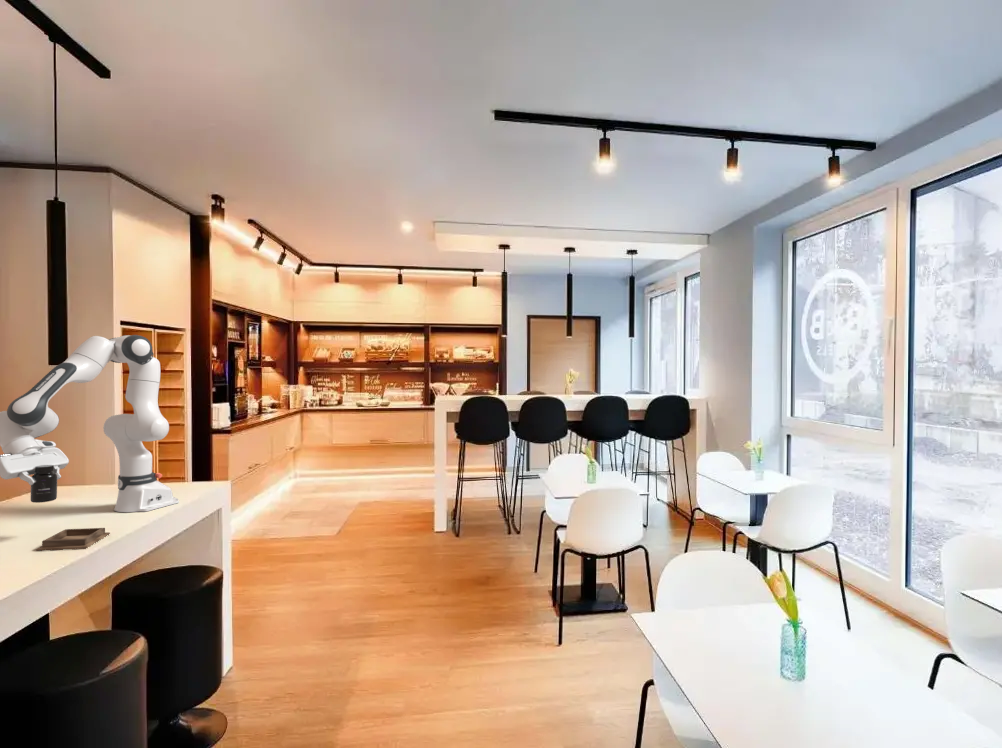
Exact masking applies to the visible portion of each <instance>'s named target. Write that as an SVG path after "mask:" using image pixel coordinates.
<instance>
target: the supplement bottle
mask: <svg viewBox="0 0 1002 748" xmlns="http://www.w3.org/2000/svg"><path fill="white" fill-rule="evenodd" d="M53 471H54V465H41V466H36V467H35V472H36V474H33V475H31V477H32V478H34V479H35V480H36V481H37V482H36V483H35V484H34V485H30V503H35V504H36V503H38V504H39V503H49V502H52V501H55V500H56V499H57V498H58V480H57V474H56V473H54V472H53Z"/></svg>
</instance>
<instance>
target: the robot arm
mask: <svg viewBox="0 0 1002 748" xmlns="http://www.w3.org/2000/svg"><path fill="white" fill-rule="evenodd" d="M154 355H155V354H154V351H153V346H152V343H151V341H150V340H149V339H148V338H147V337H145V336H142V335H138V334H132V335H129V334H128V335H126V334H125V335H122V336H117V337H113V338H109V339H108V338H106V337H103V336H101V335H93V336H91V337H88V338H87V339H86V340H85V341H83V342H82V343H81V344H80V345H79V346H77V348H76V349H75V350H74V351H73V352H72V353H71V354H70V355H69V356H68V357H67V358H66V359H65V361H63V362H62V363H59V364H57V365H56V366H54V367H53V368H52V369H50V371H48V372H47V373H46V374H45V376H43V377H42V378H41V379H39V381H38V382H37V383H36V384H34V386H33V387H32V388H31V389H29V390H28V391H26V392H25V393H23V394H22V395H20V396H18V397H17V398H15V399H14V400H13V401H11V403H9V405H8V406H7V410H3V411H0V448H1V451H2V452H3V453H2V454H0V478H1V479H3V480H11V479H16V478H17V479H18V478H19V479H20V480H21V481H25V482H26V483H28V484H29V486H31V485H34V484H35V483H36V482H37V481H36V480H35V479H34V478H32V476H33V475H34V474H36V472H35V467H36V466H41V465H54V471H53V472H54V473H56V474H57V481H59V480H61V478H62V475H61V474H60V470H62V469H65V468H66V467H67V466H68V464H69V463H70V459H69V458H68V456H67V455H66V454H65V453H64V452H63V451H62V450H61V449H60V448H58V447H56V446H57V444H56V442H54V441H50V440H49V441H48V440H42V439H36V438H39V437H42V436H44V435H48V434H49V433H52V432H53V431H54V430H56V428H57V427H58V426H59V424H60V417H59V415H58V414H57V413H56V412H55V411H54V409H52V408H50V407H49V402H50V400H52V398H53V397H54V396H55V395H56V394H57V393H58V392H59V391H60V390H61V389H63V387H64V386H65V385H67V384H69V383H75V384H87V383H89V382H92V381H94V380H95V378H97V377H98V376H99V375H100V374H101V372H102V371H103V370H104V368H106V366H107V364H108V363H110V362H112V363H116V364H117V363H118V364H121V363H122V364H123V363H124V364H127V366H128V369H129V374H128V378H127V379H128V380H127V383H126V390H125V400H126V402H127V403H129V404H130V405H131V406H132V408H133V414H131V413H121V414H120V413H119V414H115V415H111V416H109V417H108V418H107V419H106V420H105V421H104V423H103V433H104V434H105V436H106V437H107V438H109V439H110V440H111V441H112V443H113V444H114V447H115V448H116V451H117V454H118V462H119V475H118V478H117V489H118V493H117V498H116V499H117V500H116V503H115V506H114V508H113V511H115V512H118V513H134V512H149V511H153V510H157V509H161V508H164V507H168V506H171V505H175V504H179V503H180V500H179V498H177V497H174V496H173V490H172V488H171V487H169V486H168V485H165V484H164V483H162V482H160V481H159V480H157V479H161V478H162V477H163V474H162V473H160V472H157V473H156V472H153V454H152V453H151V452H150V450H148V449H147V448H146V447H145V445H144V444H143V442H154V441H155V442H156V441H161V440H163V439H164V438H165V437H167V435H168V434H169V431H170V423H169V422H168V420H167V418H165V417H164V415H163V414H162V413H161V410H160V407H159V403H158V402H159V400H158V399H159V392H160V391H159V390H160V385H161V384H160V383H161V362H160V361H159V359H157V357H154Z"/></svg>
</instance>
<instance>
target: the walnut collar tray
mask: <svg viewBox="0 0 1002 748" xmlns="http://www.w3.org/2000/svg"><path fill="white" fill-rule="evenodd" d="M109 534H111V532H106V528H105V527H91V528H90V527H88V528H67V529H63V530H62V531H60V532H58V533H56V534H55V533H54V535H51V536H50V537H47V538H45V539H43V540H42V541H41V545H40V546H39V547H37V548H36V549H35V550H36V551H35V552H43V551H42V550H50V551H64V550H63V549H72V550H87V549H89V548H90V547H91V545H92V546H94V545H95V544H97V543H99V542H100V541H102V540H103V539H105V538H106V536H107V535H108V536H110V535H109ZM108 536H107V537H108ZM104 537H105V538H104ZM101 539H102V540H101ZM99 540H100V541H99ZM98 541H99V542H98ZM96 542H97V543H96ZM94 543H95V544H94ZM93 544H94V545H93ZM88 547H89V548H88ZM86 548H87V549H86ZM39 550H41V551H39Z"/></svg>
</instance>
